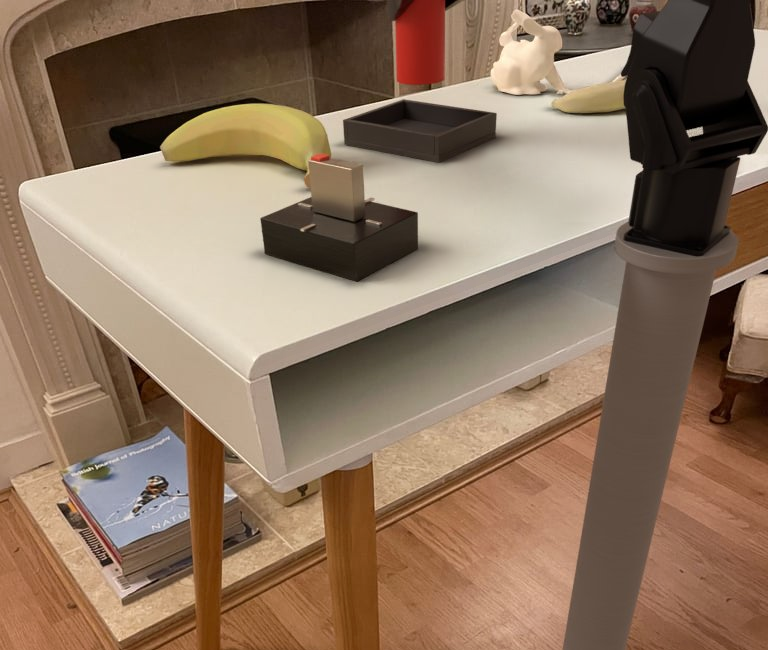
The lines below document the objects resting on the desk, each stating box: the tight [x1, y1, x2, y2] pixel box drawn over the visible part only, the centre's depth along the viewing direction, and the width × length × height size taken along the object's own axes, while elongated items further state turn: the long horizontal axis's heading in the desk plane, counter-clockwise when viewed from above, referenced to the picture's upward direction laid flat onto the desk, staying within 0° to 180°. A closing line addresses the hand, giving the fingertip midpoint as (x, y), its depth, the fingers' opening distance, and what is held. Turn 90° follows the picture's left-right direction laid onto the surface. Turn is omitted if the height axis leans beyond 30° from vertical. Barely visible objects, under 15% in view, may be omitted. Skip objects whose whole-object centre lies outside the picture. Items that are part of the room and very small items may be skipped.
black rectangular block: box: [259, 196, 419, 282], centre depth 65 cm, size 10×9×3 cm
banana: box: [159, 103, 332, 190], centre depth 83 cm, size 14×6×20 cm
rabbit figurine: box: [490, 9, 574, 96], centre depth 104 cm, size 12×8×10 cm, turn 46°
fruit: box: [551, 79, 626, 114], centre depth 99 cm, size 7×15×3 cm, turn 117°
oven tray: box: [342, 98, 498, 163], centre depth 90 cm, size 13×11×3 cm
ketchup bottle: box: [394, 0, 446, 86], centre depth 82 cm, size 5×5×14 cm
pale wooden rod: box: [611, 73, 627, 82], centre depth 110 cm, size 1×19×1 cm, turn 154°
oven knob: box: [308, 153, 366, 222], centre depth 63 cm, size 4×1×4 cm, turn 52°
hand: (413, 14), depth 84 cm, fingers closed on ketchup bottle, 5 cm apart
